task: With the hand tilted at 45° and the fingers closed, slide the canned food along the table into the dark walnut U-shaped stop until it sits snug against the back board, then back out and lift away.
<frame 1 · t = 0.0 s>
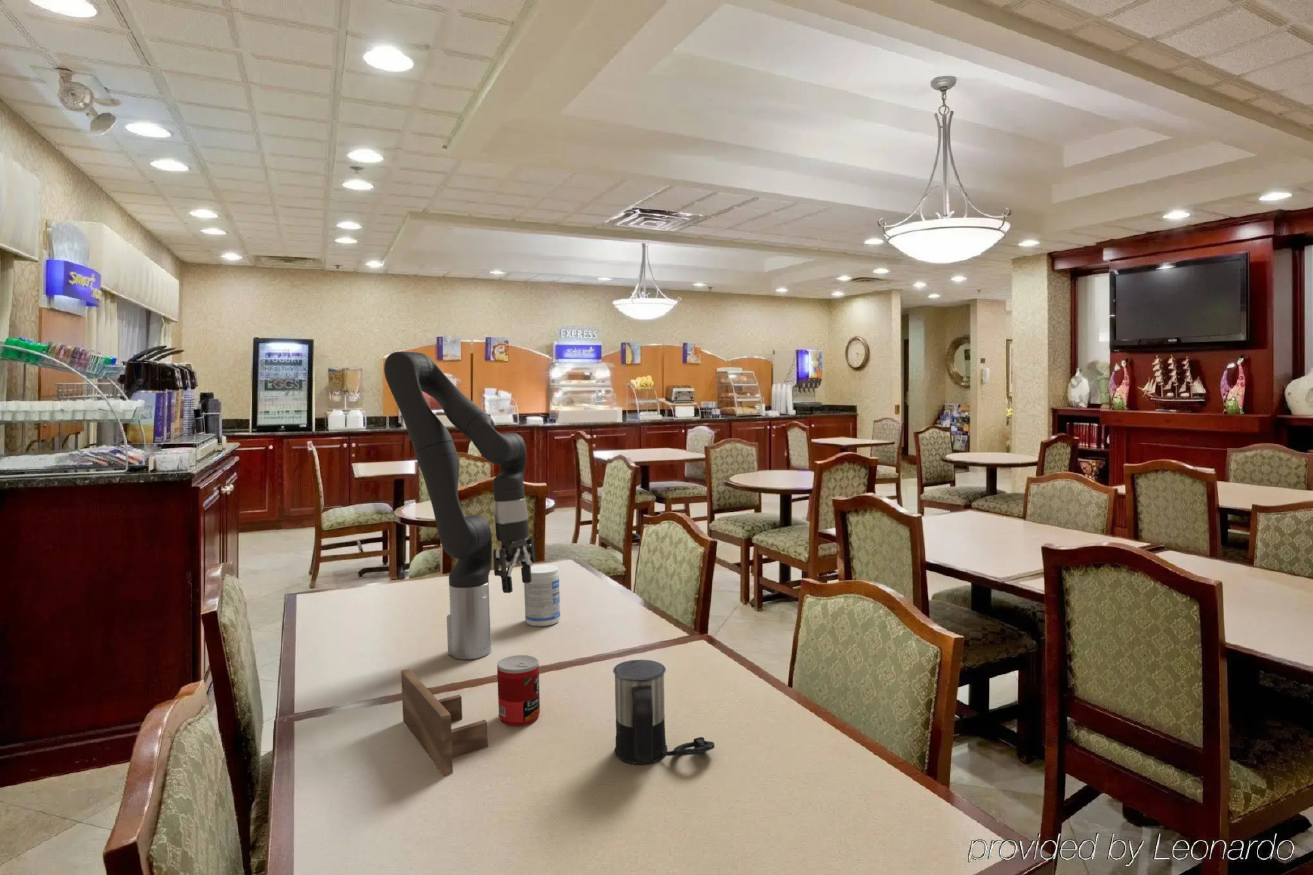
hand: (517, 587, 166), 17 cm above the table, tool pointing down, fingers open, 8 cm apart
supplement tub: (542, 622, 194), on the table
milk frother: (663, 755, 123), on the table
walnut stop: (457, 735, 130), on the table
canned food: (519, 718, 137), on the table
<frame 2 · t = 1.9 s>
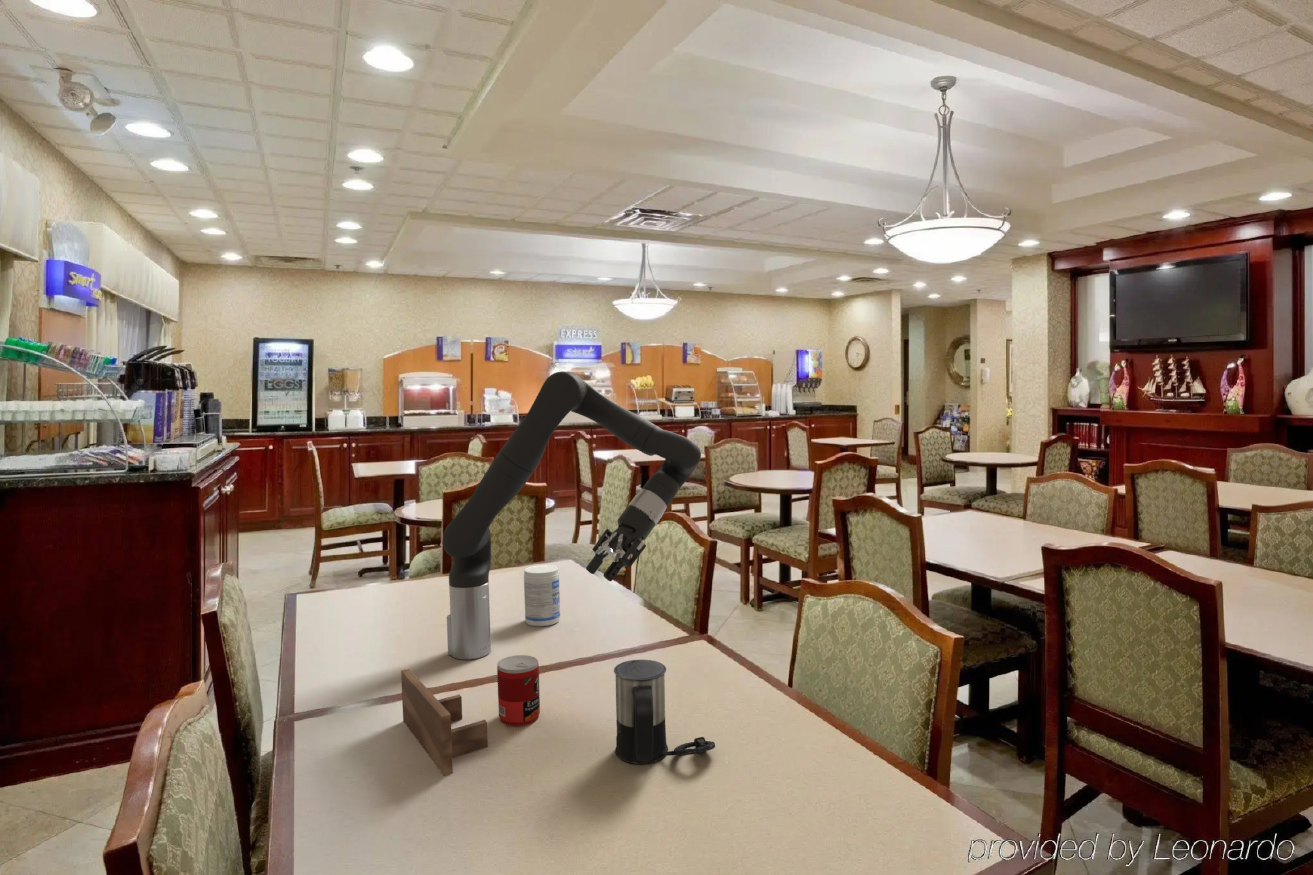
hand: (598, 575, 151), 24 cm above the table, tool tilted 45°, fingers open, 7 cm apart
nothing on the table moved.
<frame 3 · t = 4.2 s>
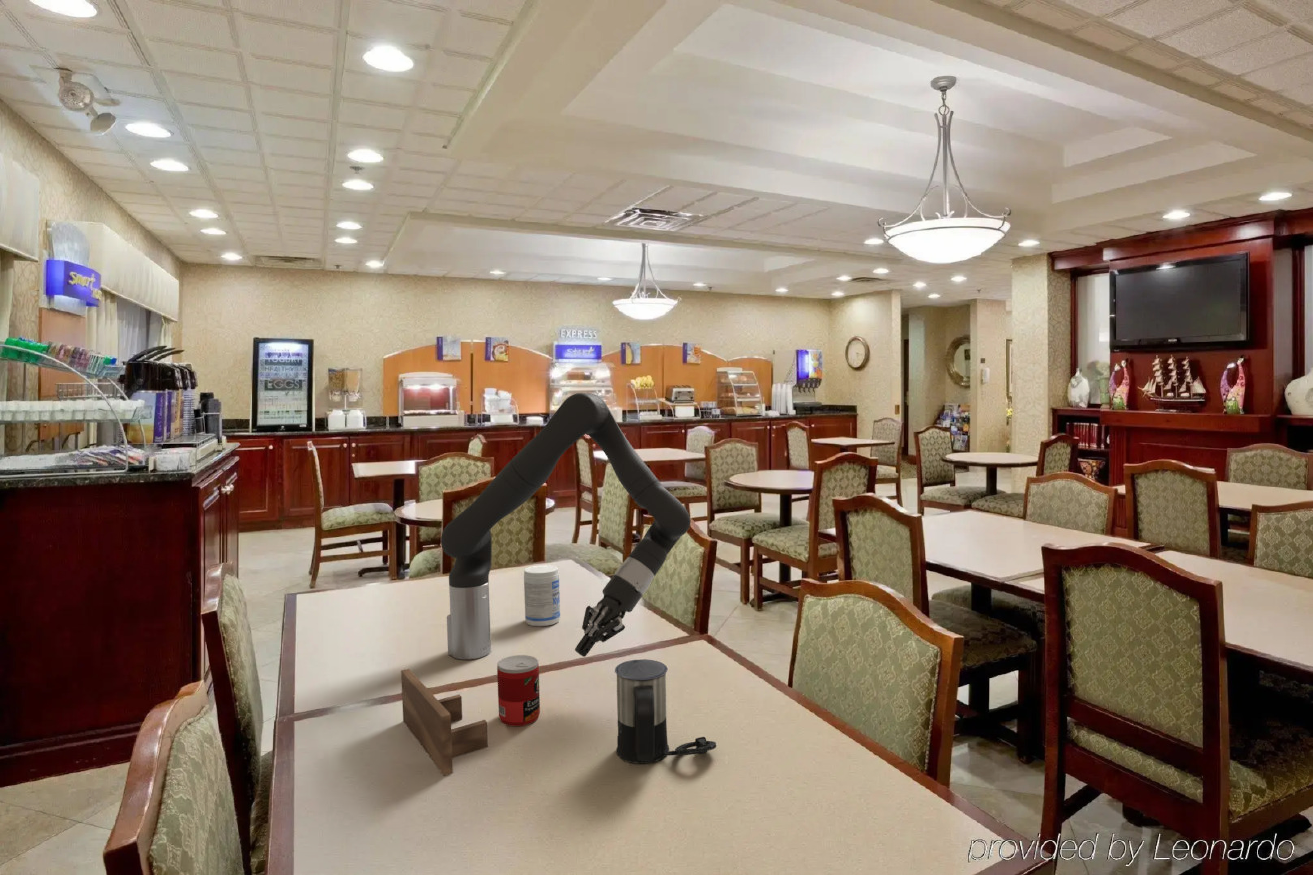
hand: (579, 653, 144), 10 cm above the table, tool tilted 45°, fingers closed
nothing on the table moved.
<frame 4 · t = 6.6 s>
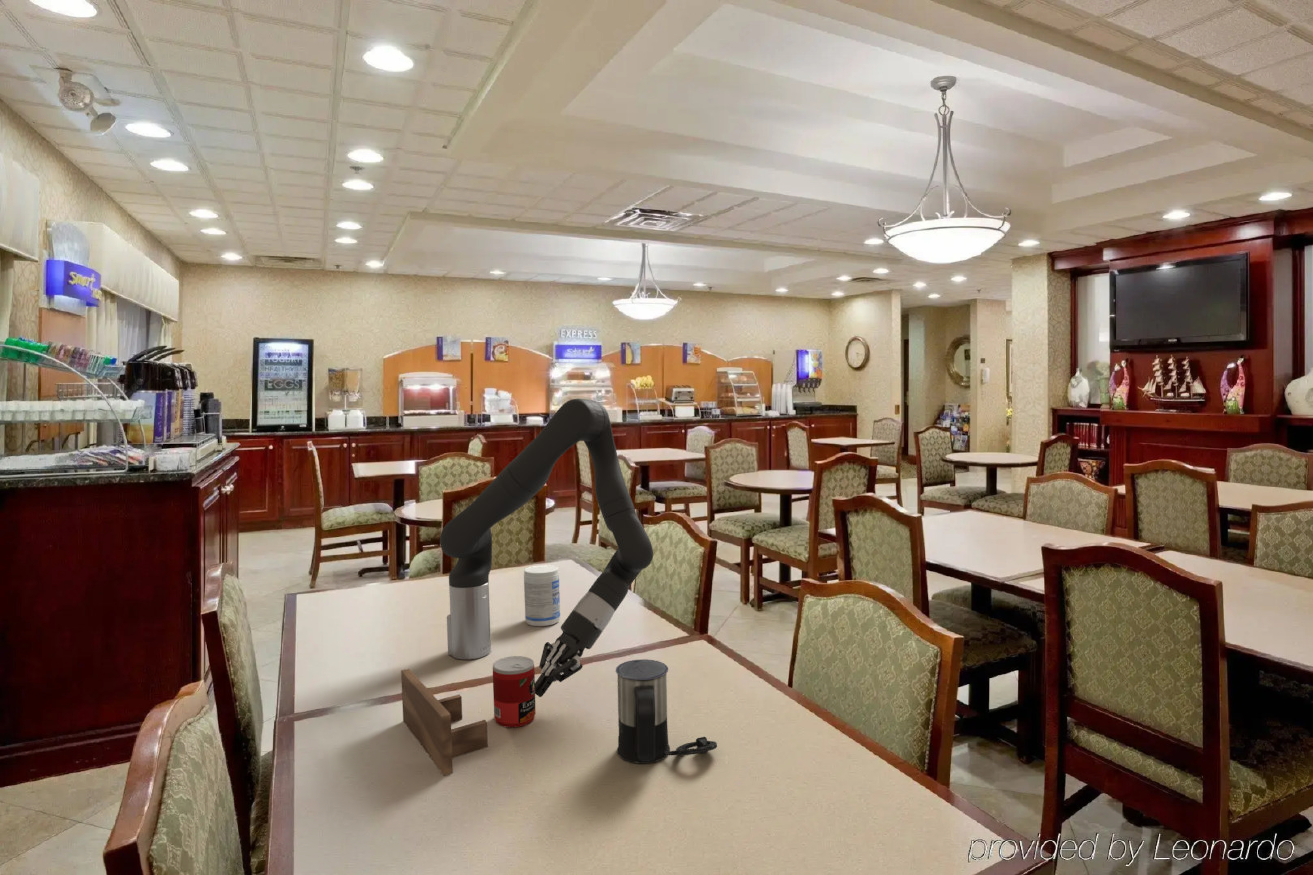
hand: (535, 694, 139), 4 cm above the table, tool tilted 45°, fingers closed
canned food: (515, 720, 137), on the table, touching gripper
everything else where it was.
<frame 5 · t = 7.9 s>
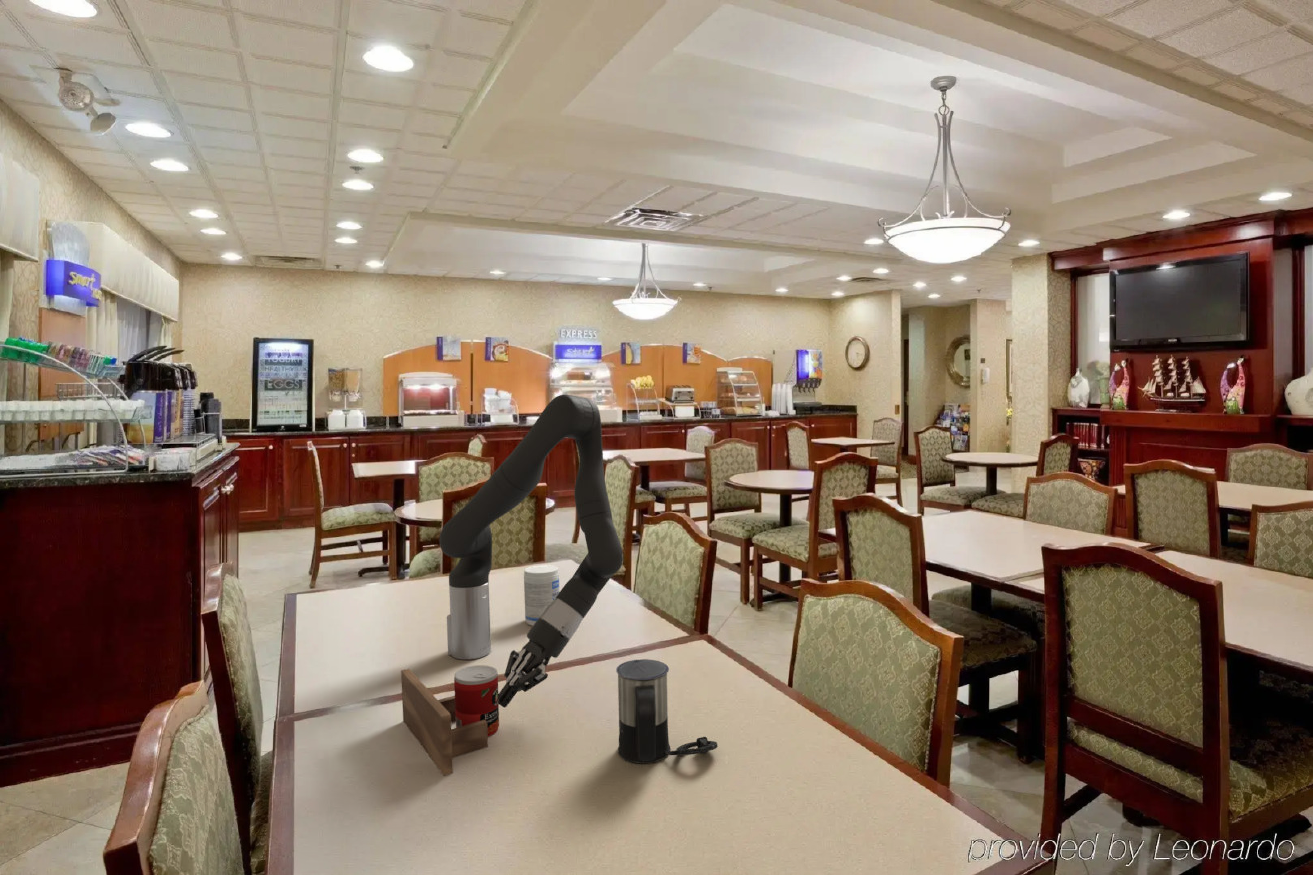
hand: (499, 704, 135), 4 cm above the table, tool tilted 45°, fingers closed
canned food: (477, 731, 132), on the table, touching gripper
everything else where it was.
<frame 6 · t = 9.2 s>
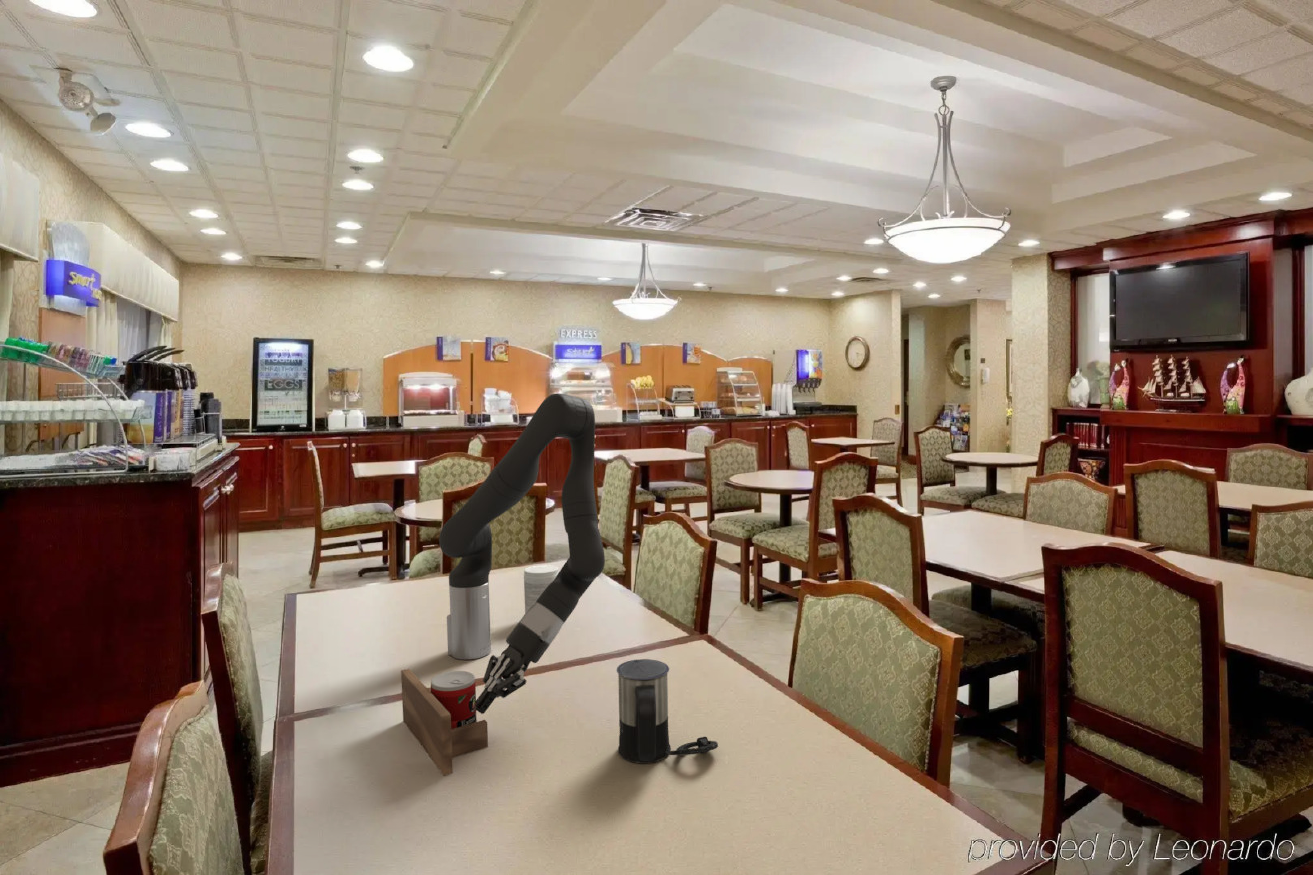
hand: (477, 710, 132), 4 cm above the table, tool tilted 45°, fingers closed
canned food: (455, 738, 130), on the table, touching gripper
everything else where it was.
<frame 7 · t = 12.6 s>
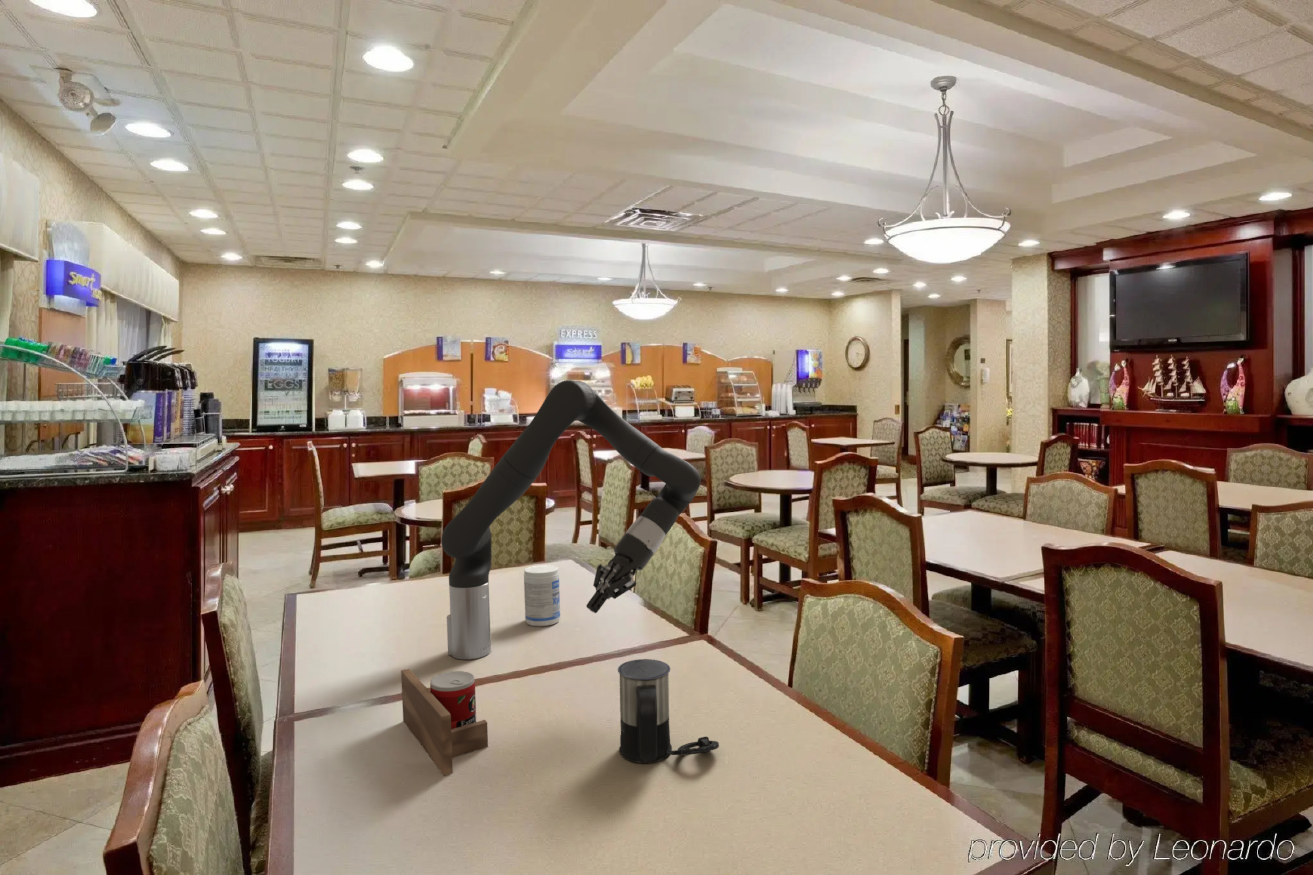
hand: (590, 610, 145), 18 cm above the table, tool tilted 45°, fingers closed
canned food: (454, 738, 130), on the table
everything else where it was.
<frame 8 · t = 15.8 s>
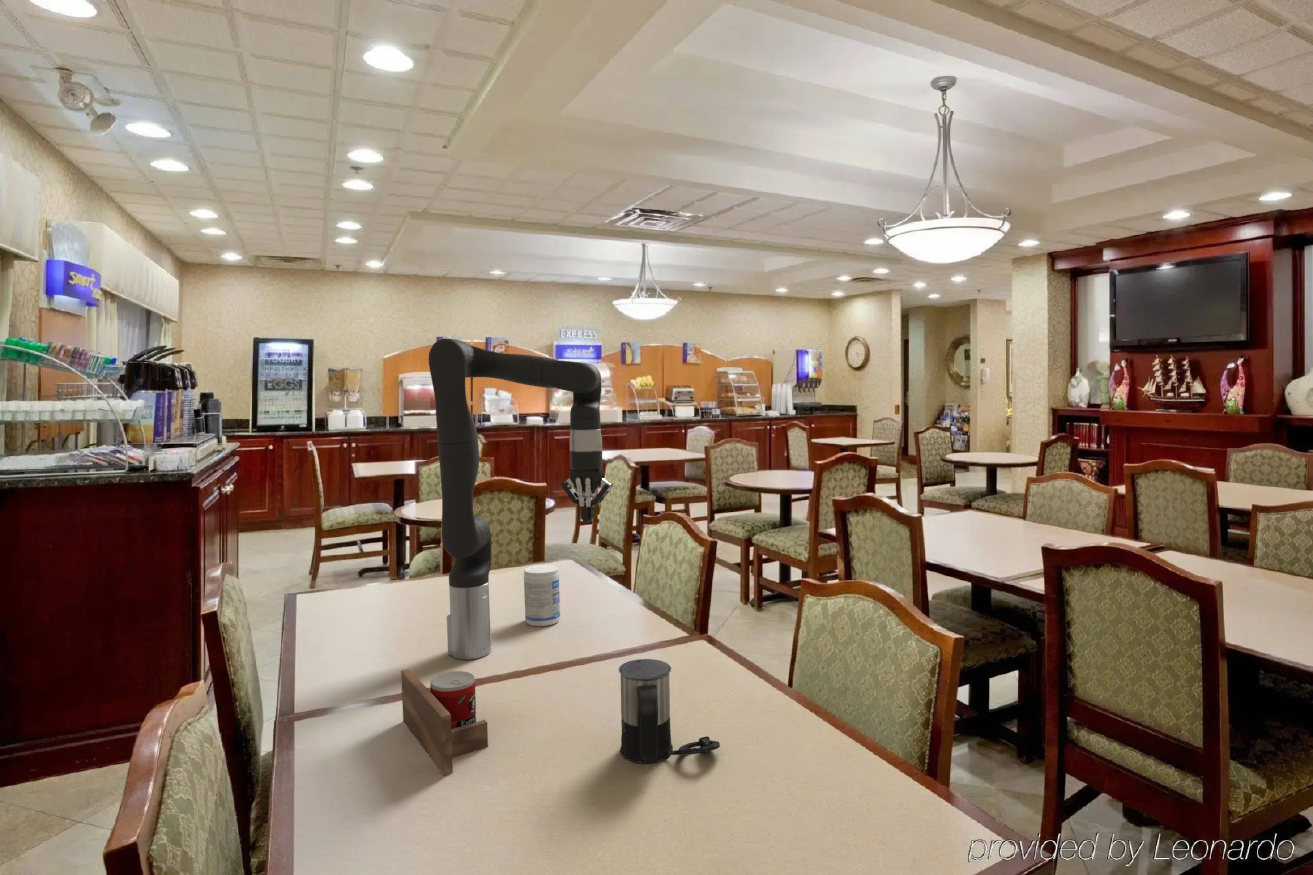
hand: (587, 521, 167), 32 cm above the table, tool pointing down, fingers closed
nothing on the table moved.
at the end: canned food 0.7 cm off-centre on the walnut stop, point 0.0 cm above the walnut stop's base; canned food tilted 0°; canned food moved 12.9 cm from its start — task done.
